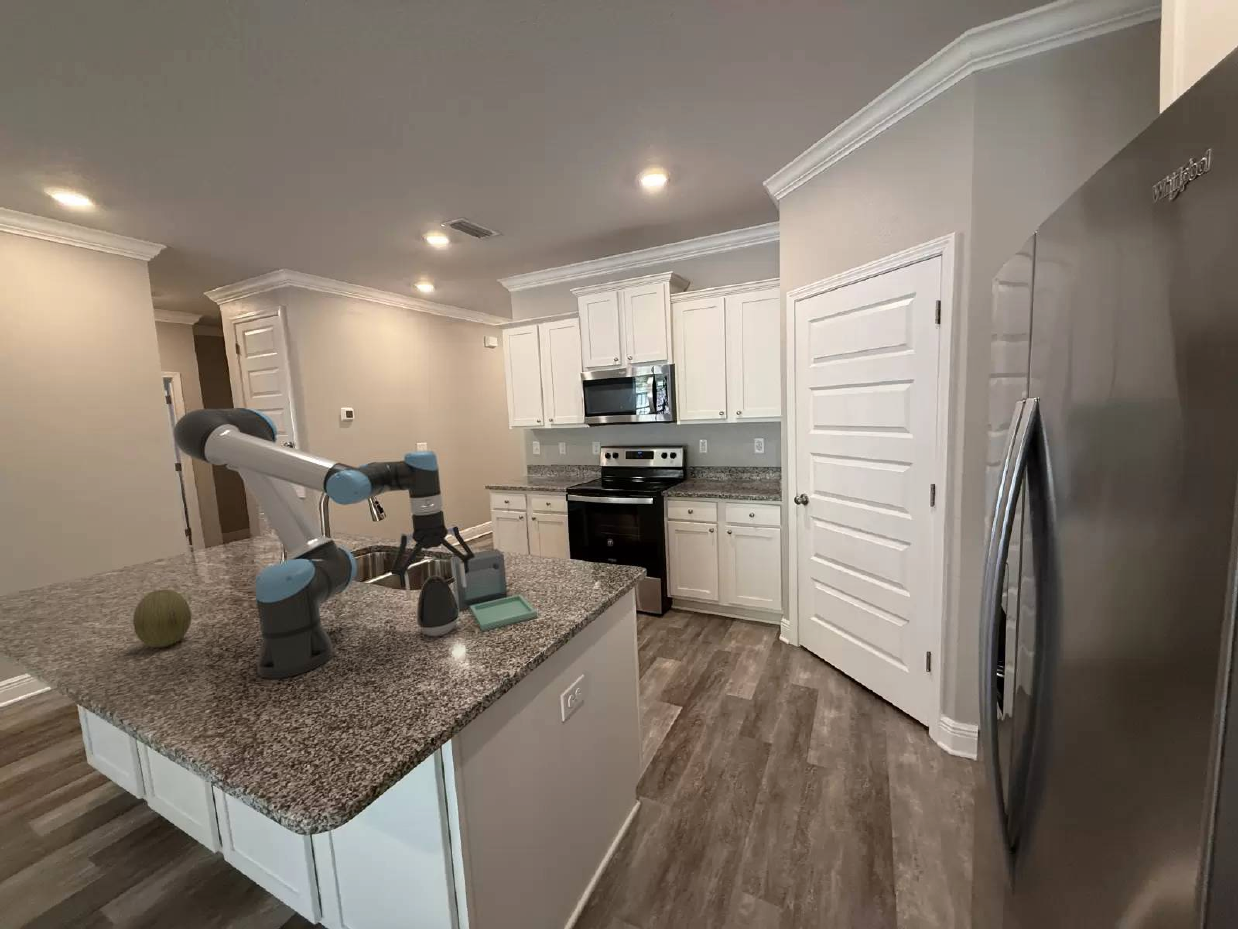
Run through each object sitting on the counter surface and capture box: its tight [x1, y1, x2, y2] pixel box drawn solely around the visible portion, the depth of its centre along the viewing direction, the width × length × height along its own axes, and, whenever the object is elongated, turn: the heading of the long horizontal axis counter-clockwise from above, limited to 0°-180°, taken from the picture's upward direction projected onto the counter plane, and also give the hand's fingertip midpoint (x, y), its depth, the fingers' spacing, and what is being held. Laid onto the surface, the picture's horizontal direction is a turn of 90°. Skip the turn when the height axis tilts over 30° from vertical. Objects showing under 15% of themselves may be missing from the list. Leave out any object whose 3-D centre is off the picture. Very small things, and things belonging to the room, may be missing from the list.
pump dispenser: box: [416, 575, 459, 637], centre depth 129 cm, size 10×10×15 cm
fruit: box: [132, 589, 192, 648], centre depth 131 cm, size 11×11×15 cm
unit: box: [449, 548, 508, 612], centre depth 149 cm, size 14×9×14 cm, turn 118°
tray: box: [469, 593, 538, 633], centre depth 139 cm, size 15×15×2 cm
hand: (437, 592), depth 129 cm, fingers open, 13 cm apart
